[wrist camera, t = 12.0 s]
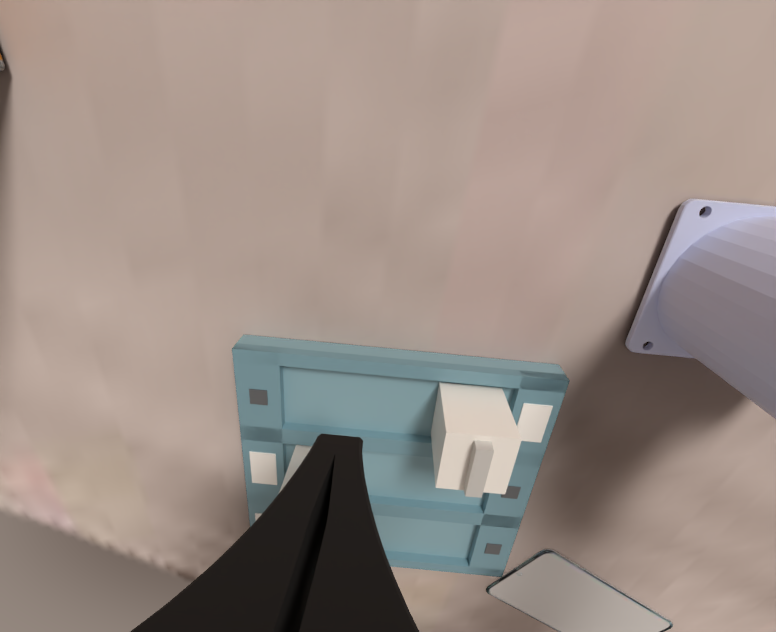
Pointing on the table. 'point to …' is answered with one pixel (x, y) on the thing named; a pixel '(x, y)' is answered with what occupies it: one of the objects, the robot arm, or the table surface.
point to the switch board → (393, 439)
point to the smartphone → (573, 598)
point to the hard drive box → (1, 64)
